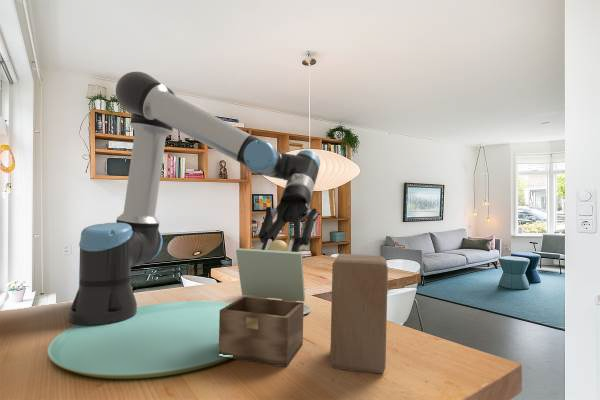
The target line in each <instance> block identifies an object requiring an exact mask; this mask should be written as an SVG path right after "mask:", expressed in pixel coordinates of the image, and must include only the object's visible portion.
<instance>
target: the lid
mask: <svg viewBox="0 0 600 400" xmlns="http://www.w3.org/2000/svg"><path fill="white" fill-rule="evenodd" d="M288 246H289V245H288V243H287V242H285V241H284V240H282V239H275V240H274V241H273V242H272V243H271V244H270V245H269V248H268V250H261V249H256V248H241V247H237V248H236V249H235V252H236V253H235V254H236V260H237V268H238V276H239V283H240V290H241V295H242V296H246V297H255V298H265V299H274V300H282V299H284V300H293V301H297V302H303V303H305V301H306V295H305V292H306V291H305V282H304V281H305V280H304V279H305V278H304V267H303V266H304V265H303V254H302V253H303V252H301V251H298V252H288V251H287V249H288Z"/></svg>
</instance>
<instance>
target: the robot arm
mask: <svg viewBox="0 0 600 400" xmlns="http://www.w3.org/2000/svg"><path fill="white" fill-rule="evenodd" d="M115 98H116V100H117V102H118V104H119V105H120V108H121V107H122V109H123V110H125V111H126V112H128V113H129V114H131V116H130V122H129V123H130V124H129V125H130V127H131V128H132V129H133V131H134V134H133V143H132V149H131V157H130V164H129V172H128V177H127V178H128V179H127V184H126V193H125V200H124V206H123V212H122V213H121V214H119V216H117V217H116V222H106V223H105V222H104V223H97V224H96V223H95V224H91V225H89V226H87V227H84V228H83V229H82V230H81V234H80V238H79V239H80V241H79V243H78V246H79V269H78V270H79V271H78V273H79V274H78V279H79V280H78V289H77V292H76V294H75V297H74V300H73V302H72V305H71V308H70V310H69V321H70V322H71V323H73V324H77V325H84V326H85V325H89V326H90V325H91V326H93V325H95V326H96V325H103V324H104V325H105V324H111V323H117V322H121V321H124V320H127V319H129V318H132V317H134V316H135V315H136V314H137V312H138V310H137V309H138V305H137V304H138V303H137V300H136V297H135V295H134V291H133V288H132V285H131V270H132V268H133V267H137V266H139V265H145V264H147V263H149V262H150V261H152V260H153V259H154V258H156V257H157V256H158V255H159V254H160V253H161V250H162V247H163V236H162V233H161V232H160V230H159V228H160V221H159V219H157V217H156V210H157V209H156V208H157V204H158V196H159V195H158V194H159V190H160V189H159V188H160V180H161V176H162V175H161V174H162V168H163V167H162V166H163V160H164V153H165V146H166V139H167V137H168V136H169V135H171V134H172V133H173V129H175V130H177V131H179V132H181V133H183V134H184V135H186V136H188V137H189V138H192V139H194V140H195V141H198V142H199V143H201V144H204V145H205V146H207V147H210V148H211V149H213V150H215V151H217V152H219V153H221V154H223V155H224V156H227V157H228V158H231V159H232V160H234V161H236V162H238V163H240V164H241V165H243V166H245V167H246V168H248V169H249V172H251V173H253V174H257V175H259V176H265V177H270V178H274V179H279V180H280V179H281V180H284V181H286V184H285V186H284V189H283V192H282V194H281V197H280V201H279V204H278V205H277V206H276V207H275V208H271V207H269V206H268V207H266V208H265V216H264V219H263V222H262V225H261V227H260V229H259V232H258V235H257V236H258V238H259V240H260V242H261V243H262V247H261V249H260V250H268V248H269V245H270V244H271V243H272V242H273V241H275V240H276V238H277V237H278V235H279V234H280V232H281V230H283V227H285V226H286V224H288V223H292V224H293V237H292V238H293V240H292V239H290V240H289V241H288V242H289V243H288V245H287V246H288V249H287V251H288V252H300V251H299V250H300V247H301V246H305V247H306V246H309V244H310V240H311V236H312V231H313V229H314V224H315V222H316V220H317V219H318V218H319V215H318V210H317V208H312V209H310V208H309V207H310V203H311V201H312V200H311V199H312V196H313V192H314V189H315V184H316V181H317V178H318V175H319V169H320V165H321V159H320V157H319V155H317V153H316V152H314V151H313V150H310V149H305V150H300V151H299V152H298V153H297V154H290V153H285V152H282V151H277V149H276V148H275V147H274V146H273V145H272V143H269V142H267V141H266V140H262V139H260V138H258V137H255V136H253V135H252V134H249V133H248V132H246V131H244V130H242V129H240V128H238V127H236V126H235V125H233V124H231V123H229V122H227V121H225V120H223V119H220V118H219V117H217V116H214V115H213V114H211V113H209V112H207V111H205V109H204V110H203V109H201V108H199V107H197V106H196V105H194V104H193V103H190V102H188V101H186V100H184V99H182V98H181V97H178V96H177V95H176V94H175V93H174V92H173V91H172V90H171V89H170V88H169V87H168V86H165V85H164V84H162V83H161V82H159V81H158V80H157V79H155V78H154V77H152V76H151V75H149V74H147V73H145V72H142V71H130V72H127V73H125V74H123V75H122V76H121V77H120V78H119V79H118V80H117V83H116V85H115ZM276 215H277V217H276ZM306 216H307V218H306V221H305V224H304V228H303V232H302V235H301V226H302V225H301V220H303V218H304V217H306ZM275 217H276V219H275V221H274V218H275ZM273 221H274V222H273Z"/></svg>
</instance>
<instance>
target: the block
mask: <svg viewBox="0 0 600 400" xmlns="http://www.w3.org/2000/svg"><path fill="white" fill-rule="evenodd" d="M331 268H332V270H331V271H332V272H331V274H332V275H331V276H332V278H331V308H330V309H331V310H330V312H331V313H330V314H331V316H330V318H331V319H330V346H329V347H330V349H329V351H330V353H329V354H330V358H329V362H330V365H331V367H332V368H334V369H342V370H343V369H344V370H351V371H356V372H357V371H358V372H367V373H368V372H369V373H376V374H383V373H384V372H385V370H386V360H387V359H386V358H387V357H386V356H387V355H386V353H387V351H386V350H387V320H388V319H387V318H388V314H387V313H388V279H389V278H388V275H389V274H388V273H389V267H388V263H387V259H386V257H384V256H382V255H371V254H356V253H355V254H352V253H350V254H349V253H340V254H337V256H336V258H335V259H334V261H333V262H332V267H331Z"/></svg>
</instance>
